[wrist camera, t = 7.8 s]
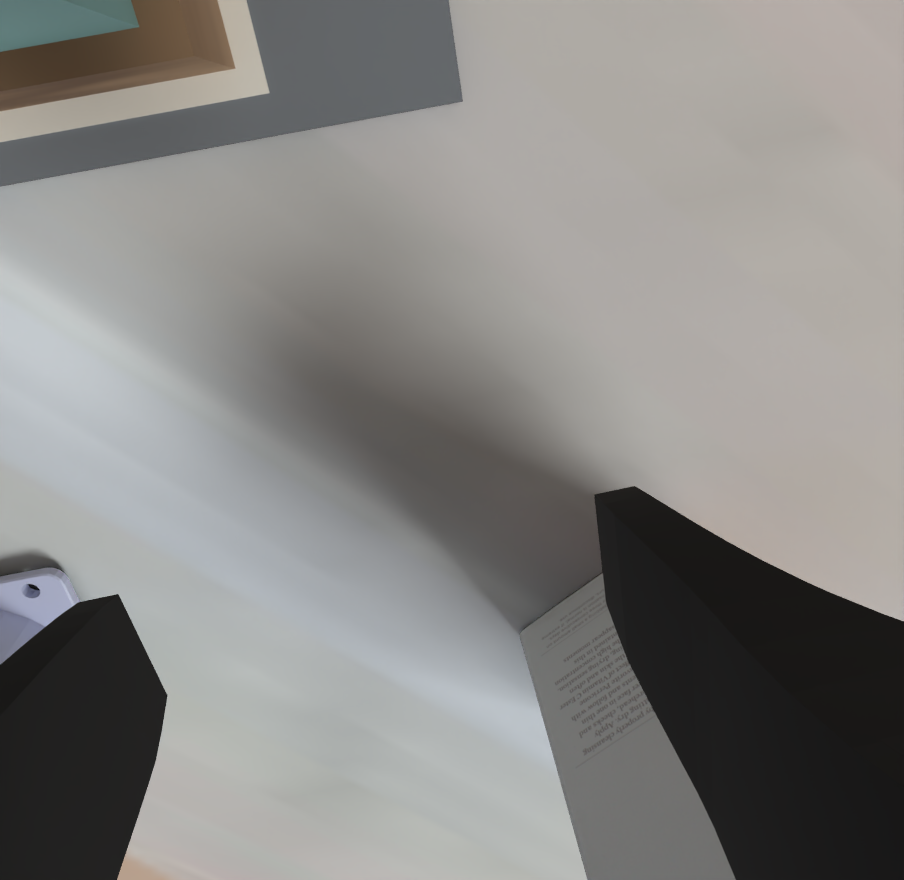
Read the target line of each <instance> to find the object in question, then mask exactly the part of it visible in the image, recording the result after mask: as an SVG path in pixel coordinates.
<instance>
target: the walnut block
mask: <svg viewBox="0 0 904 880" xmlns="http://www.w3.org/2000/svg"><path fill="white" fill-rule="evenodd" d="M131 2H132V5H133V8H134V11H135V15H136V18H137V21H138V24H139V27H137V28H132V29H126V30H121V31H115V32H109V33H104V34H98V35H92V36H87V37H81V38H76V39H70V40H64V41H59V42H53V43H47V44H42V45H36V46H31V47H25V48H19V49H14V50H8V51H3V52H0V111H5V110H11V109H16V108H22V107H27V106H33V105H38V104H44V103H49V102H55V101H60V100H66V99H71V98H77V97H82V96H88V95H93V94H99V93H104V92H110V91H115V90H121V89H126V88H132V87H137V86H143V85H148V84H154V83H159V82H165V81H170V80H176V79H181V78H187V77H192V76H198V75H203V74H209V73H214V72H220V71H225V70H231V69H236V68H235V65H234V61H233V57H232V53H231V49H230V46H229V42H228V38H227V34H226V31H225V27H224V23H223V19H222V16H221V12H220V8H219V4H218V0H131Z"/></svg>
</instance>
